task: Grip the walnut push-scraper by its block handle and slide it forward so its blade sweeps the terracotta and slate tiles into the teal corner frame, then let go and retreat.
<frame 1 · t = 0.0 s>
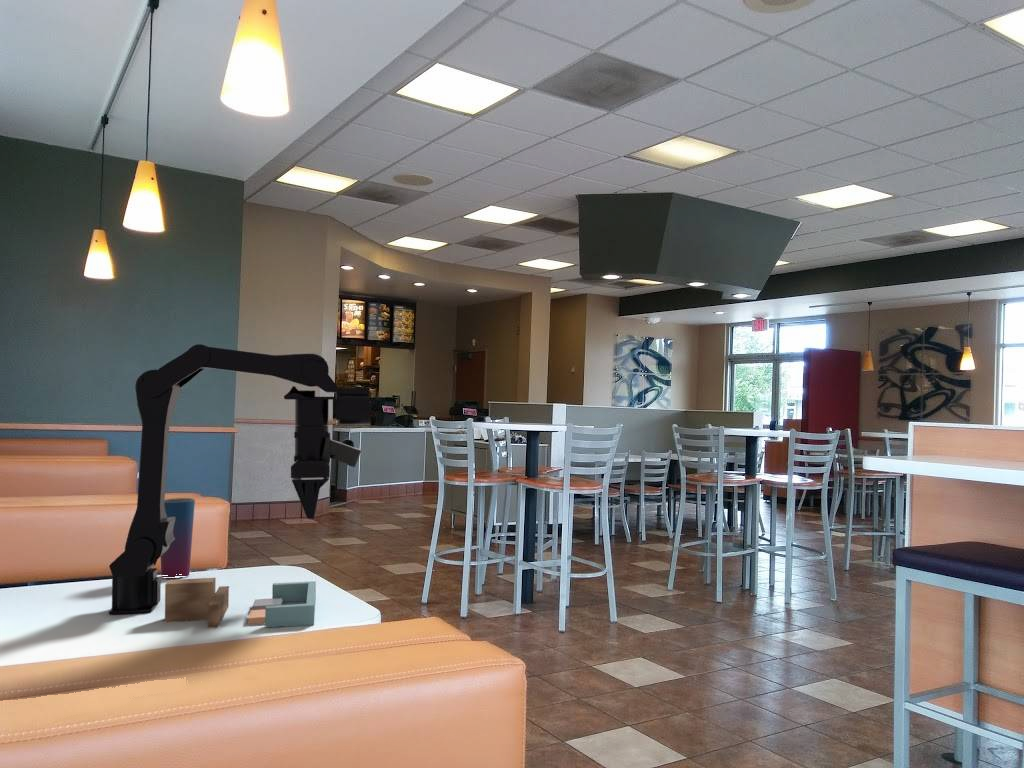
hand: (311, 514, 135), 15 cm above the table, tool pointing down, fingers open, 9 cm apart
cup: (175, 577, 152), on the table
scraper: (190, 618, 122), on the table
teal corner frame: (288, 612, 126), on the table
tile terracotta: (264, 622, 122), on the table
tile slate: (267, 610, 128), on the table
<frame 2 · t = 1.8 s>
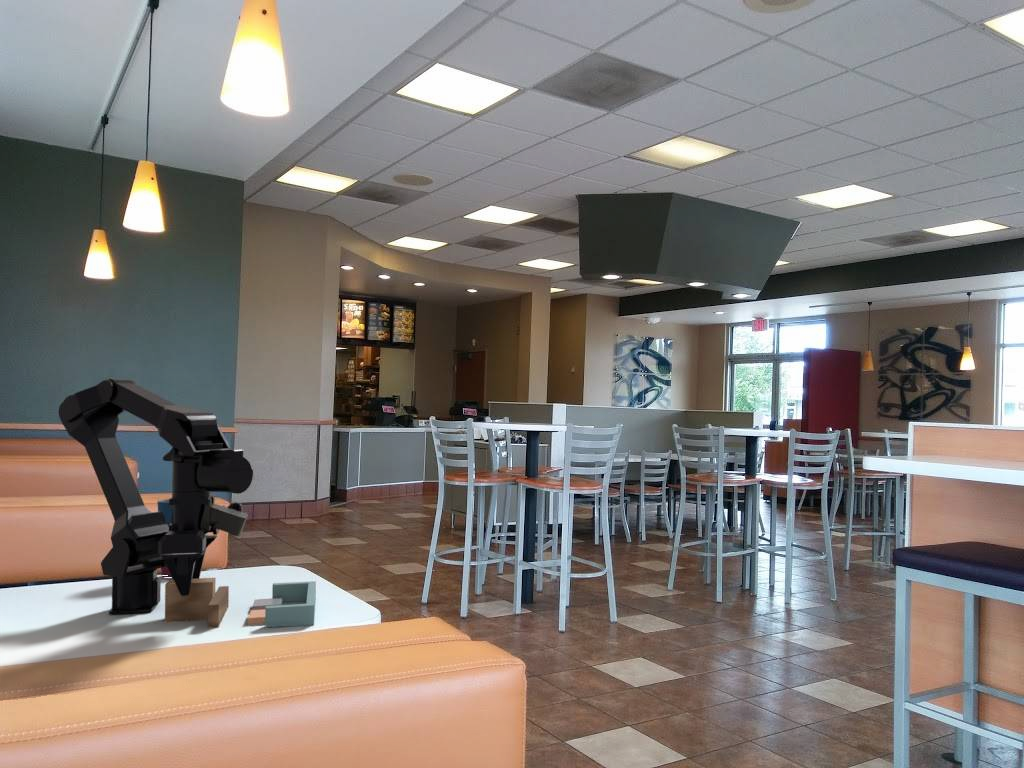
hand: (190, 588, 123), 5 cm above the table, tool pointing down, fingers open, 9 cm apart
nothing on the table moved.
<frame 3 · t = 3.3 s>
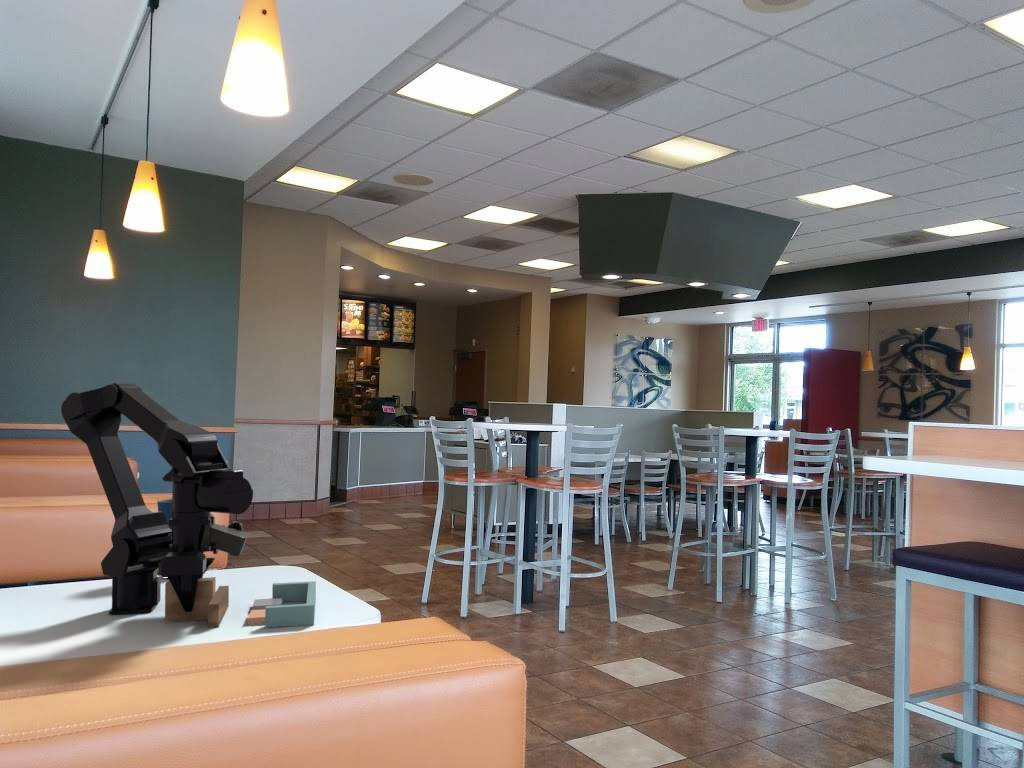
hand: (190, 608, 122), 2 cm above the table, tool pointing down, fingers closed on scraper, 3 cm apart
scraper: (190, 618, 122), on the table, touching gripper
everything else where it was.
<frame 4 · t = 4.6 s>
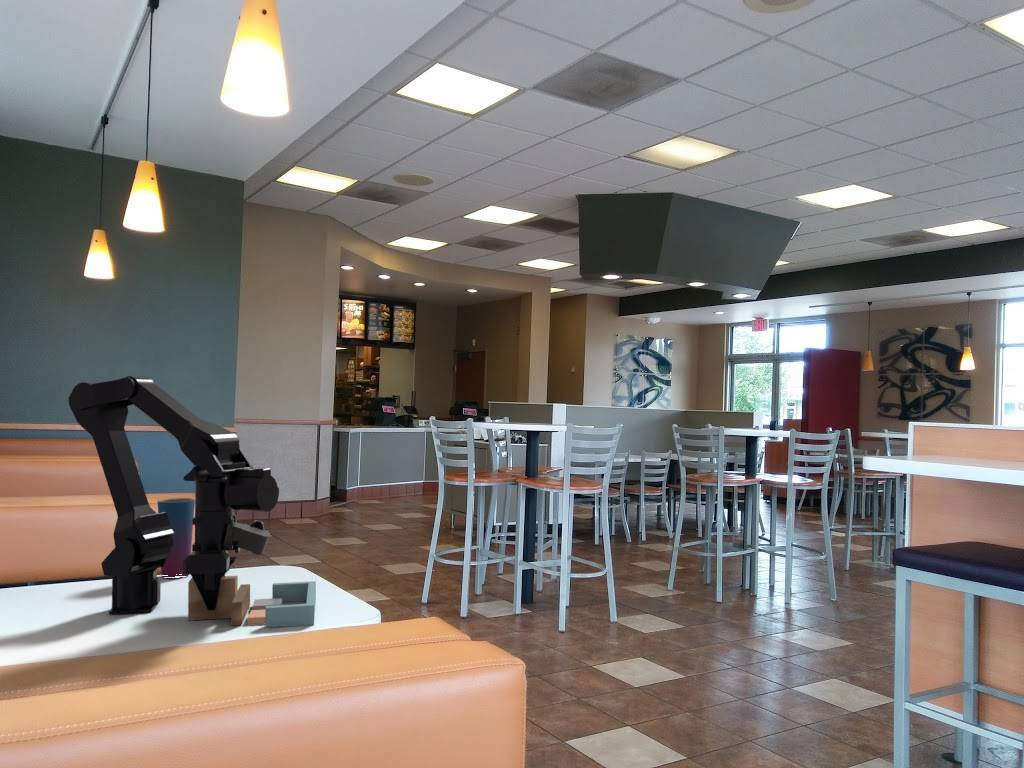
hand: (213, 607, 123), 2 cm above the table, tool pointing down, fingers closed on scraper, 3 cm apart
scraper: (213, 616, 123), on the table, touching gripper
everything else where it was.
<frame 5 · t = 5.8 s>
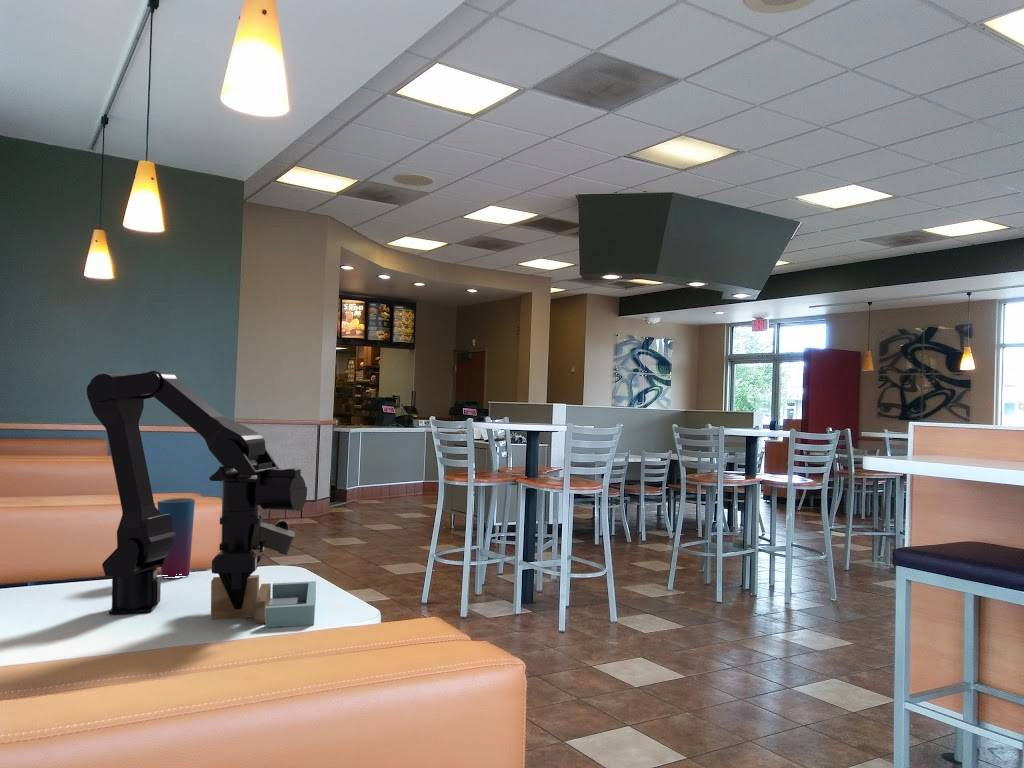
hand: (239, 606, 124), 1 cm above the table, tool pointing down, fingers closed on scraper, 3 cm apart
scraper: (235, 615, 124), on the table, touching gripper
tile terracotta: (280, 621, 122), on the table
tile slate: (283, 610, 129), on the table
everything else where it was.
when the fingers open (1 cm above the table, at t = 6.6 s): scraper stays where it is, on the table.
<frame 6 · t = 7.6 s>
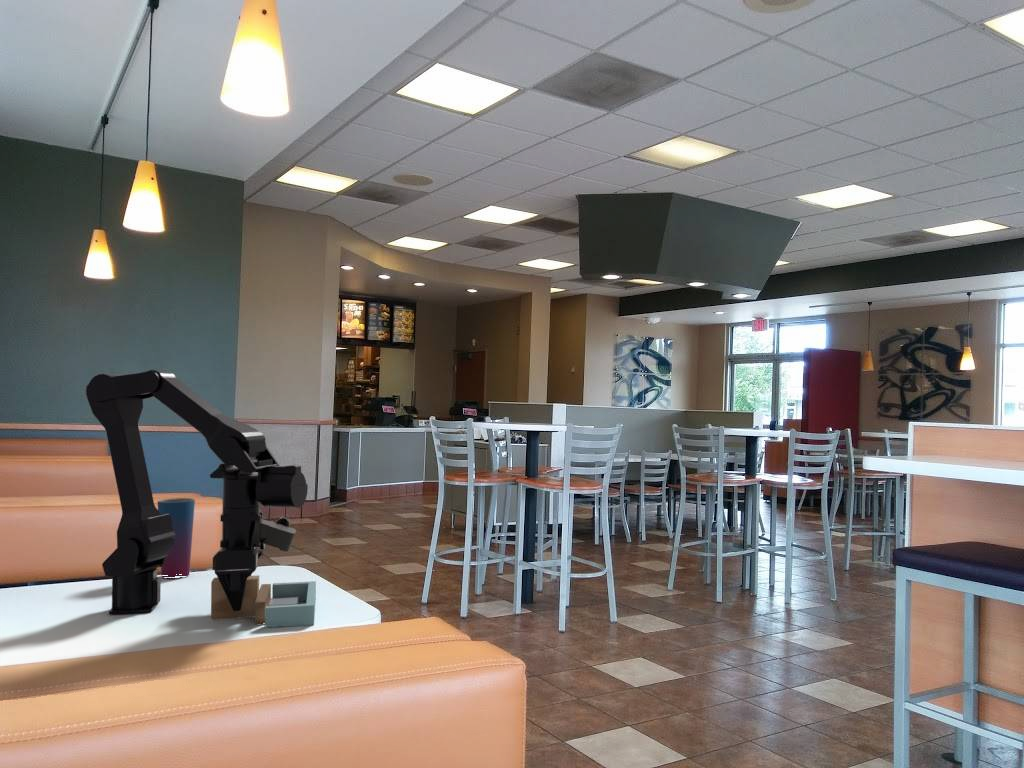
hand: (240, 603, 124), 2 cm above the table, tool pointing down, fingers open, 9 cm apart
scraper: (235, 615, 124), on the table
everything else where it was.
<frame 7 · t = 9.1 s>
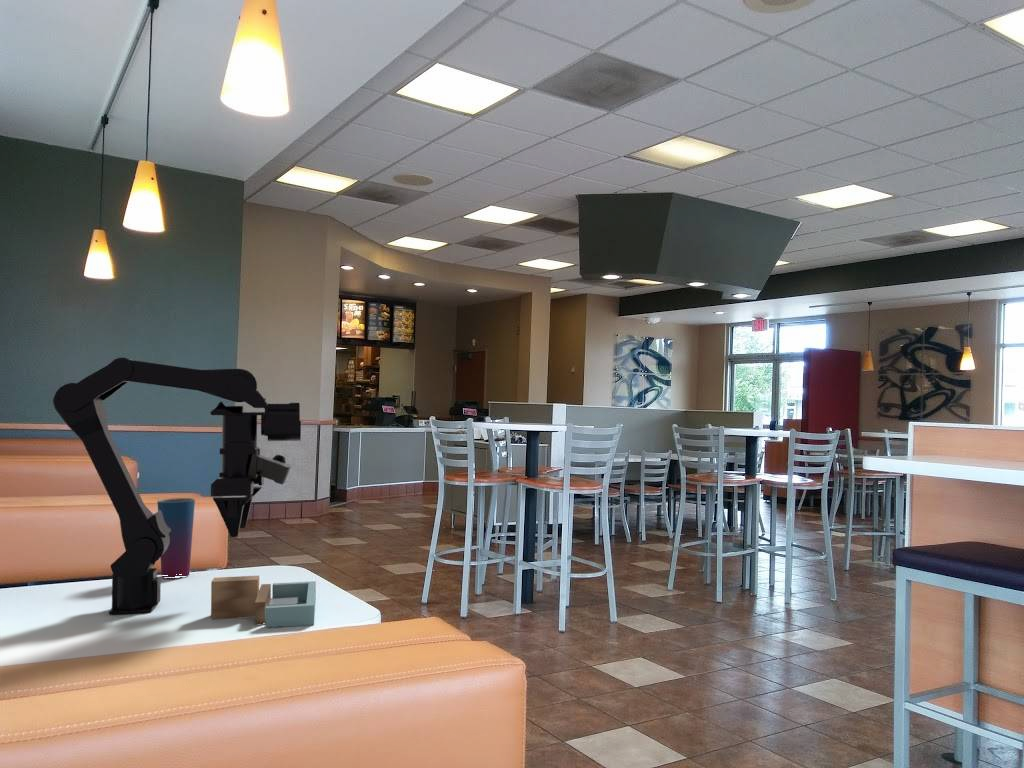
hand: (238, 532, 133), 12 cm above the table, tool pointing down, fingers open, 9 cm apart
nothing on the table moved.
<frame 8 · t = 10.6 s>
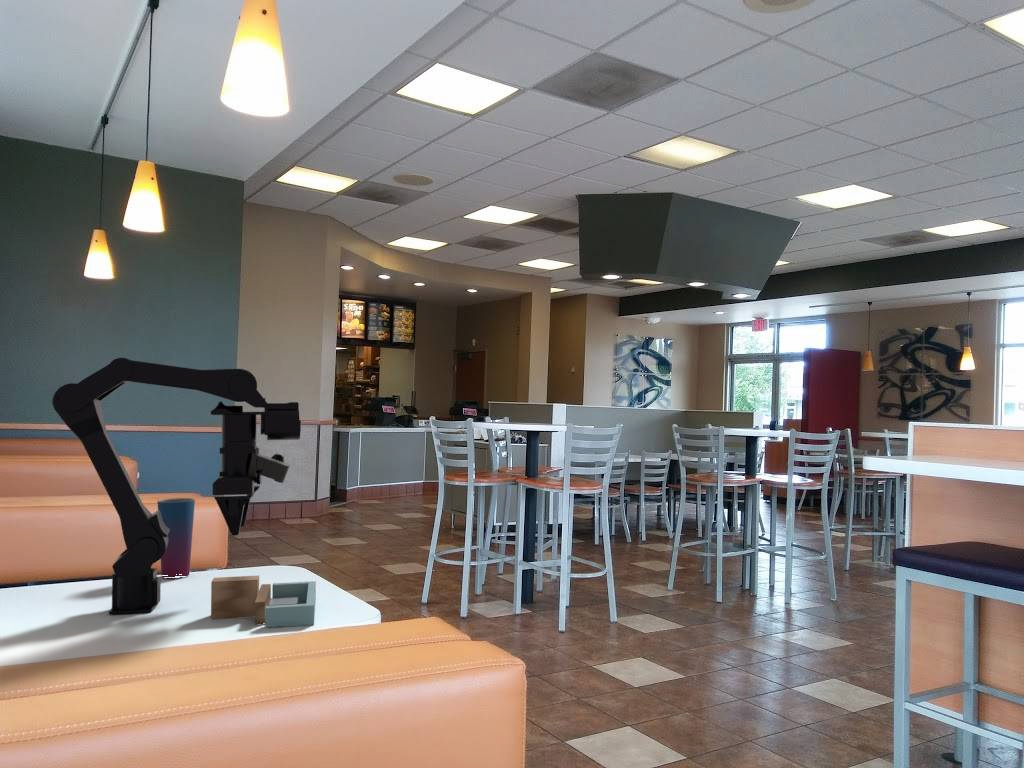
hand: (238, 530, 134), 12 cm above the table, tool pointing down, fingers open, 9 cm apart
nothing on the table moved.
at the end: tile terracotta inside the target area on the teal corner frame (3.7 cm from its centre), point -0.5 cm above the teal corner frame's base; tile slate inside the target area on the teal corner frame (3.9 cm from its centre), point -0.5 cm above the teal corner frame's base; scraper moved 6.8 cm from its start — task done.
